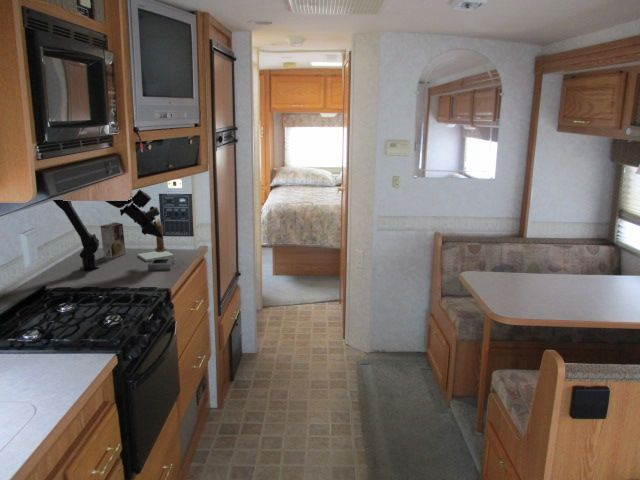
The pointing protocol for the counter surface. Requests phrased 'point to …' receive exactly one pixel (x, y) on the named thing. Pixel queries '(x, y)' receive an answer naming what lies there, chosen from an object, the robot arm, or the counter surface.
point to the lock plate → (161, 264)
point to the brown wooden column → (160, 240)
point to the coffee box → (113, 240)
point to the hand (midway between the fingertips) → (162, 236)
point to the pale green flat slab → (155, 255)
